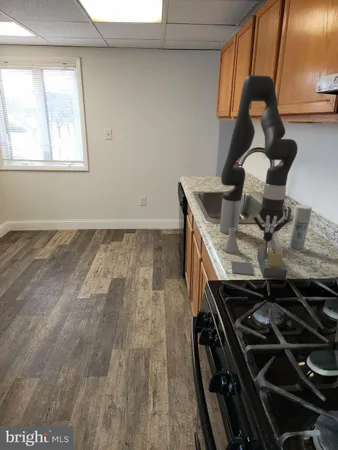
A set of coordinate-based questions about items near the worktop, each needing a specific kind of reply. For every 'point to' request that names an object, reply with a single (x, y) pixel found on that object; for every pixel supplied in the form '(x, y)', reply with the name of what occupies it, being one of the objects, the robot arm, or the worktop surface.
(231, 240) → the flask
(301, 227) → the spray can
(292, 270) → the worktop surface
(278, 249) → the lever
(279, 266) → the tan upright block
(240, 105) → the robot arm
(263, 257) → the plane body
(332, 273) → the worktop surface
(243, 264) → the mat
